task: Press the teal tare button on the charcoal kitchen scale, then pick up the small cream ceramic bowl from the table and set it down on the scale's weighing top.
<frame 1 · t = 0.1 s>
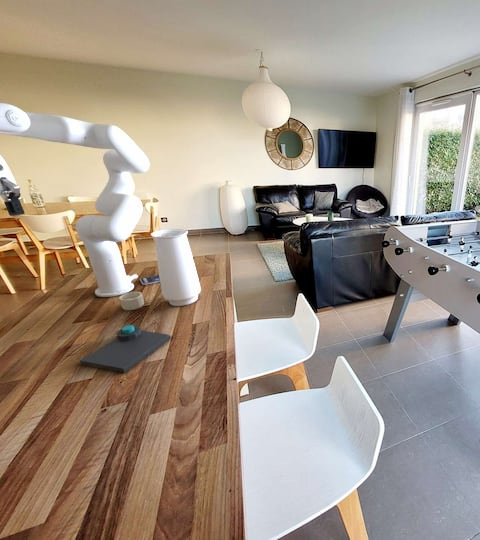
hand: (4, 213, 84), 37 cm above the breakfast bar, tool pointing down, fingers open, 9 cm apart
bowl: (133, 306, 109), on the breakfast bar
vase: (184, 300, 115), on the breakfast bar
scale: (129, 350, 86), on the breakfast bar
smartphone: (161, 278, 132), on the breakfast bar
tare button: (128, 329, 90), point 3 cm above the breakfast bar, slide at 0.1 cm
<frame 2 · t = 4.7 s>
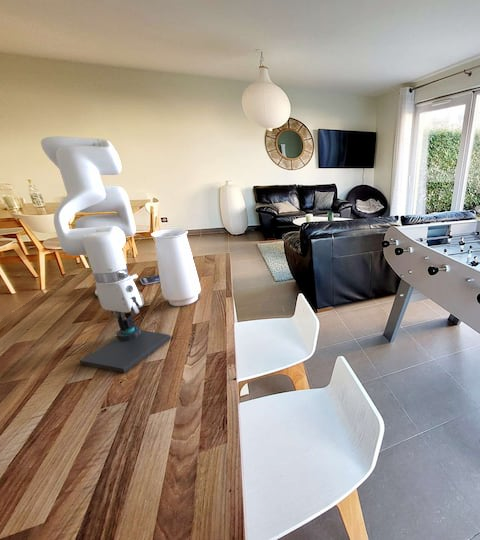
hand: (127, 328, 89), 4 cm above the breakfast bar, tool pointing down, fingers closed
tare button: (128, 330, 90), point 3 cm above the breakfast bar, slide at -0.2 cm, touching gripper
everything else where it was.
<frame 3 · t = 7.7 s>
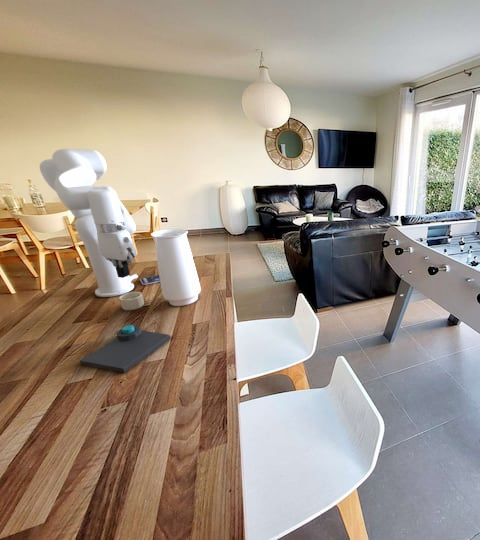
hand: (124, 276, 104), 13 cm above the breakfast bar, tool pointing down, fingers closed
tare button: (128, 329, 90), point 3 cm above the breakfast bar, slide at 0.1 cm
everything else where it was.
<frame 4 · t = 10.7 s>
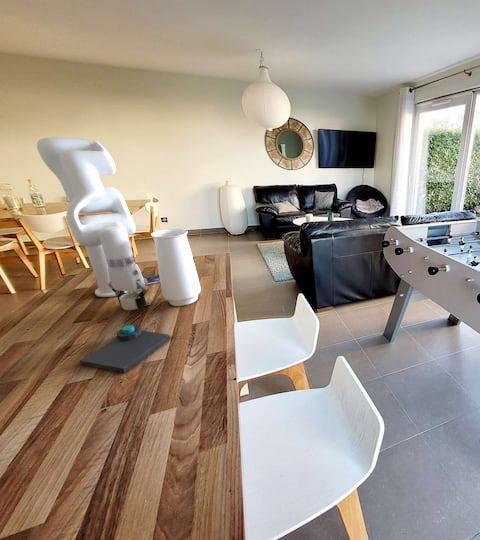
hand: (133, 304, 109), 1 cm above the breakfast bar, tool pointing down, fingers closed on bowl, 6 cm apart
bowl: (133, 306, 109), on the breakfast bar, touching gripper
everything else where it was.
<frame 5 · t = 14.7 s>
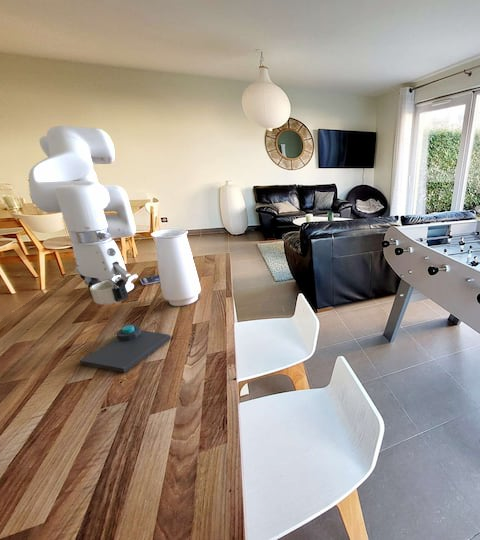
hand: (110, 297, 79), 18 cm above the breakfast bar, tool pointing down, fingers closed on bowl, 6 cm apart
bowl: (111, 299, 79), point 17 cm above the breakfast bar, touching gripper
everything else where it was.
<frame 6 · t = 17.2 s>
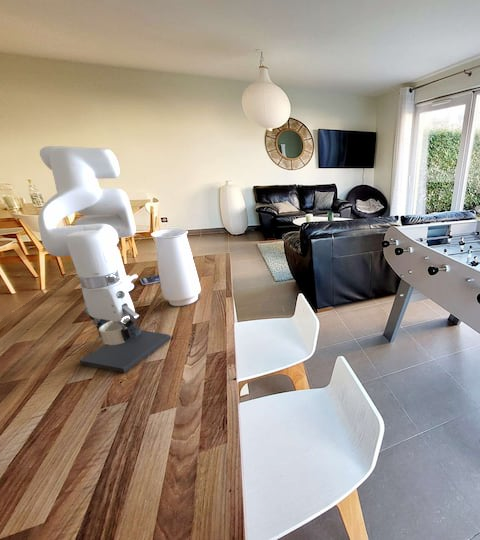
hand: (118, 336, 80), 7 cm above the breakfast bar, tool pointing down, fingers closed on bowl, 6 cm apart
bowl: (119, 338, 80), point 7 cm above the breakfast bar, touching gripper
everything else where it was.
when the fingers open (2 cm above the breakfast bar, at t = 19.1 s): bowl stays where it is, resting on scale.
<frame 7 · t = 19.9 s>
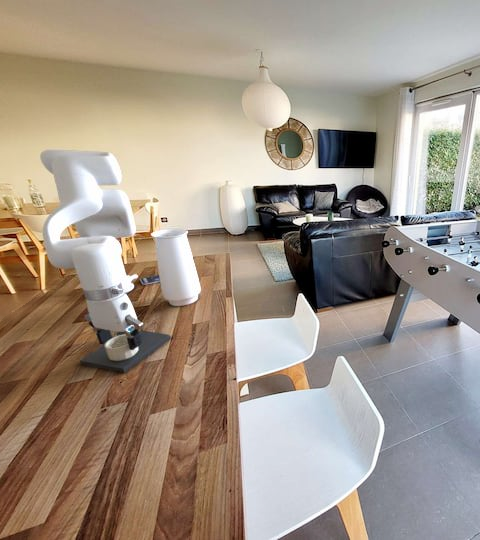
hand: (121, 344, 81), 5 cm above the breakfast bar, tool pointing down, fingers open, 9 cm apart
bowl: (124, 354, 82), point 1 cm above the breakfast bar, touching scale
everything else where it was.
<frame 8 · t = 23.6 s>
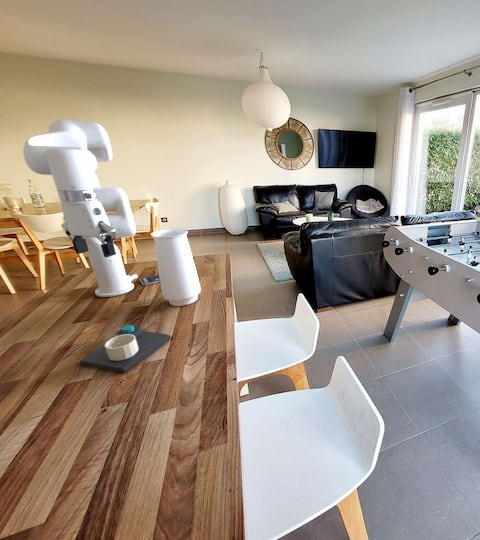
hand: (96, 254, 86), 26 cm above the breakfast bar, tool pointing down, fingers open, 9 cm apart
nothing on the breakfast bar moved.
at the end: tare button pushed in 0.9 cm at the most during the clip, back to where it started at the end; bowl inside the target area on the scale (0.6 cm from its centre), point 1.4 cm above the scale's base; bowl touching scale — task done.
